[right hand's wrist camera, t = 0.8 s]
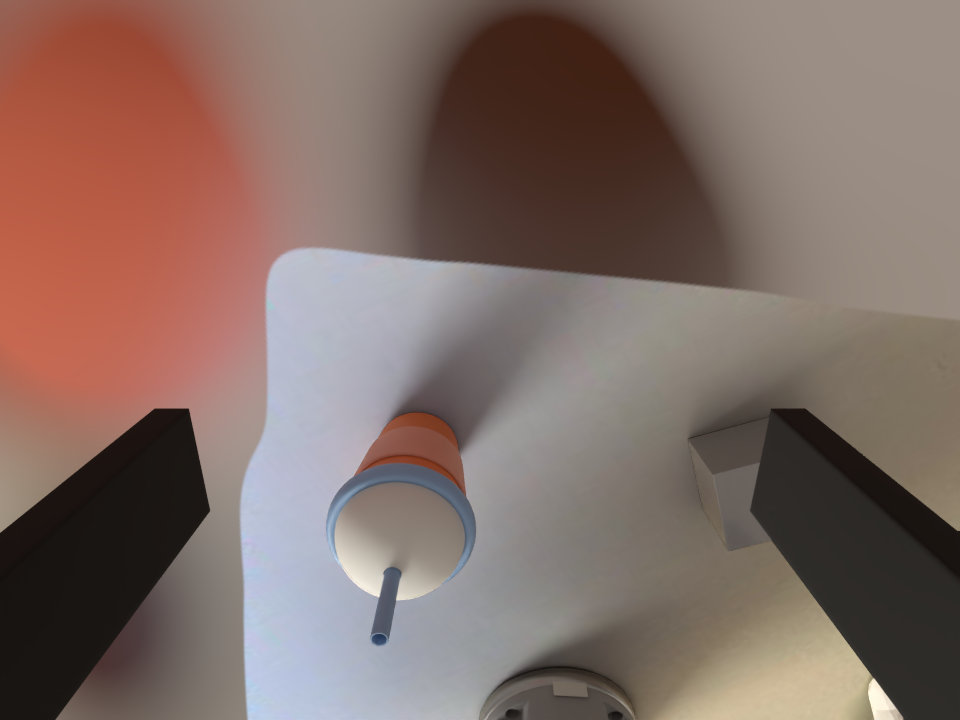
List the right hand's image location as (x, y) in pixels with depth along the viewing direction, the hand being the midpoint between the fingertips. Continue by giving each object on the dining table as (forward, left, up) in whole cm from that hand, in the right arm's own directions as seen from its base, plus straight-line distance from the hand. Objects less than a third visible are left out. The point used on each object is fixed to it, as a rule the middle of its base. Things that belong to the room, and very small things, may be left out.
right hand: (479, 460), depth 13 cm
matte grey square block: (-16, -21, -27) cm, 38 cm away
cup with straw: (-15, +4, -27) cm, 31 cm away
